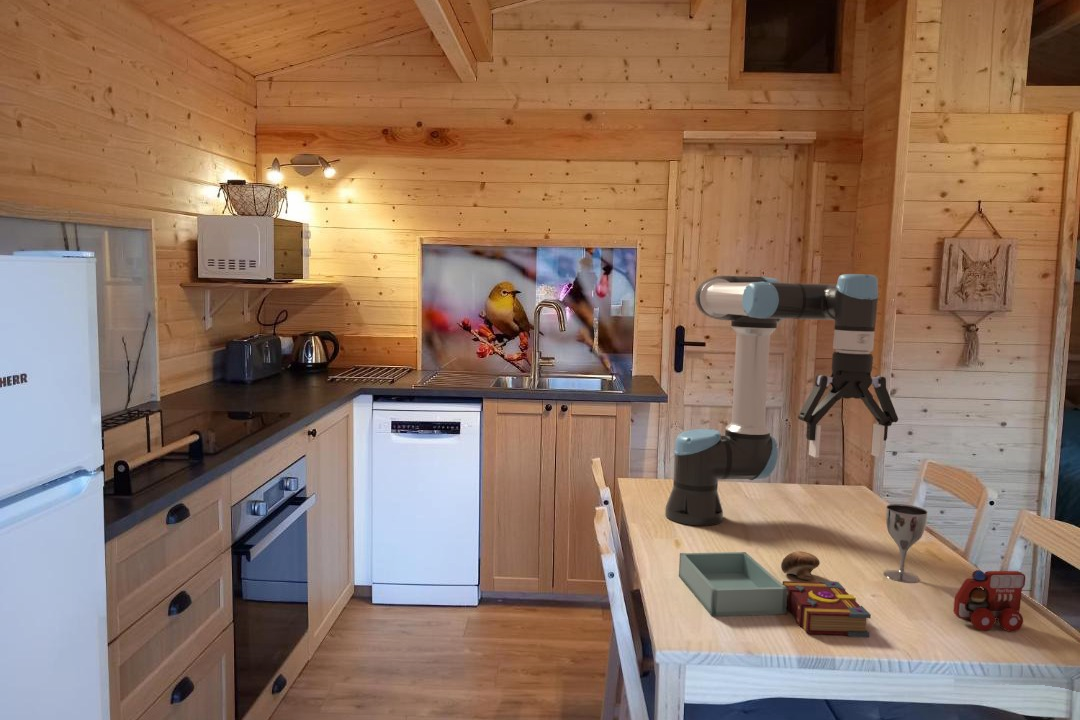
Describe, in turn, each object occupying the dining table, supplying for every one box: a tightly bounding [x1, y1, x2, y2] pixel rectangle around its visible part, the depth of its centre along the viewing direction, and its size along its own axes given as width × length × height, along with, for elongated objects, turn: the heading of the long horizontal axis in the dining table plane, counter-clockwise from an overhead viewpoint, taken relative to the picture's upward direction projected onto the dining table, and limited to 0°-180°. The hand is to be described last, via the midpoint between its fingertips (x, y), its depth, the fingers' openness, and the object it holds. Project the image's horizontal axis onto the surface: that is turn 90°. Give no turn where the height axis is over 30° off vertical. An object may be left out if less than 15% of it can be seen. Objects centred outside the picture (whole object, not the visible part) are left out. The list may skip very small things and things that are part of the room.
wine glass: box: [883, 503, 928, 584], centre depth 162 cm, size 8×8×15 cm
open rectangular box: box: [678, 551, 788, 617], centre depth 150 cm, size 20×15×5 cm
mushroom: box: [780, 550, 821, 581], centre depth 160 cm, size 8×8×6 cm
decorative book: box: [782, 580, 872, 638], centre depth 141 cm, size 11×16×5 cm
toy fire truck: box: [953, 569, 1026, 632], centre depth 140 cm, size 7×12×10 cm, turn 91°
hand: (845, 456), depth 151 cm, fingers open, 13 cm apart
